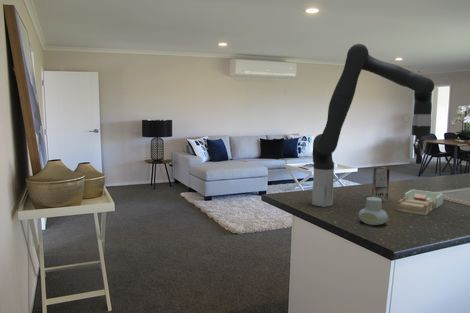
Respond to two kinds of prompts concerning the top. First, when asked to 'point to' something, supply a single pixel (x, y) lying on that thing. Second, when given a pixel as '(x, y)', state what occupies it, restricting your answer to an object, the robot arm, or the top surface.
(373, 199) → the air freshener
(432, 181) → the top surface
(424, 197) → the tile
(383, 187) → the coffee box
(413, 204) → the beige shallow box
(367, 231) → the top surface
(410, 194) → the tray
